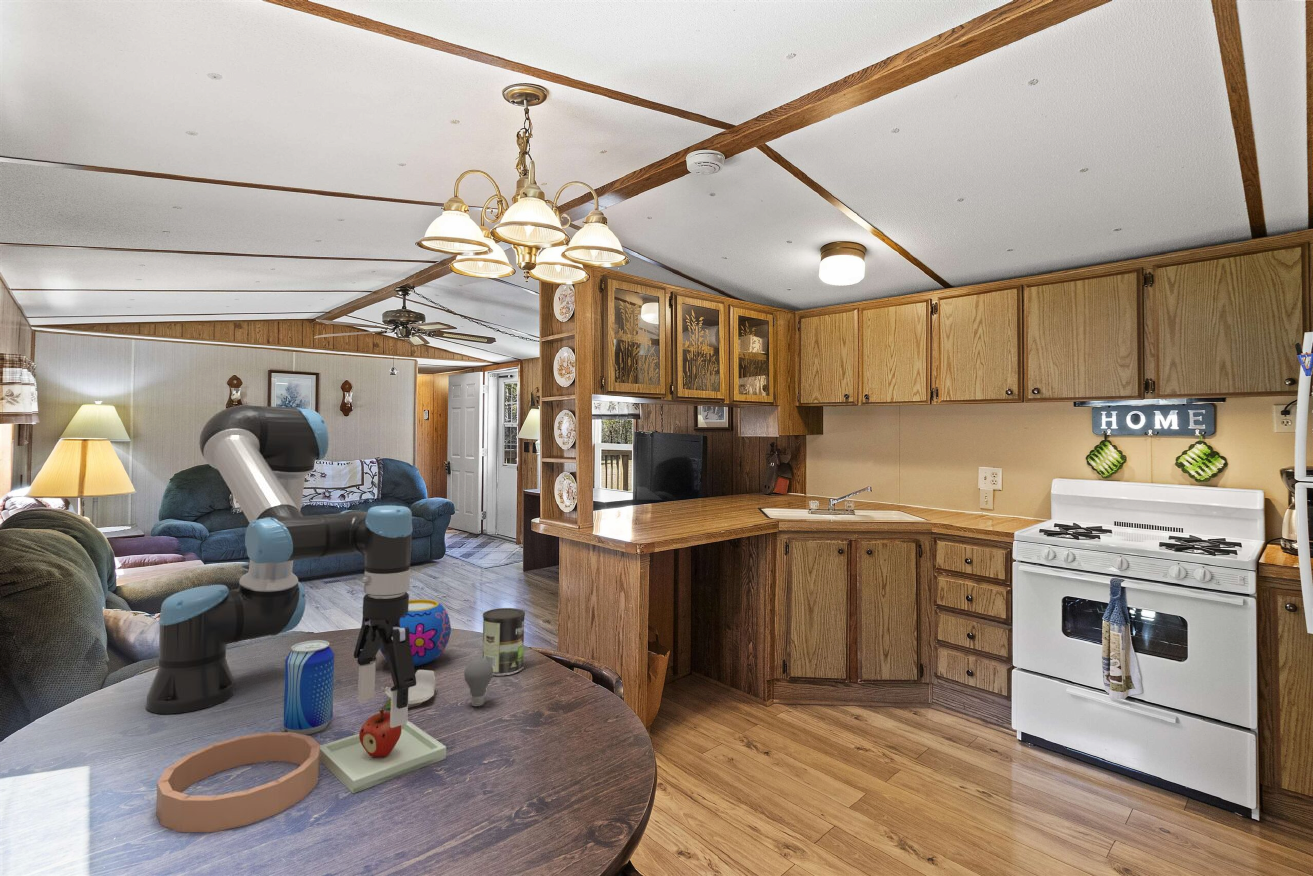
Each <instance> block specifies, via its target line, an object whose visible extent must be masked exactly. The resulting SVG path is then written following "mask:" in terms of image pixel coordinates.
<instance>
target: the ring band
mask: <svg viewBox="0 0 1313 876" xmlns="http://www.w3.org/2000/svg"><path fill="white" fill-rule="evenodd" d="M320 746H321V744H320V743H319V742H317V741H316V740H315V739H314V738H313V737H312V735H311V736H310V735H308V734H307V735H302V734H298V733H294V732H288V731H281V732H279V731H277V732H276V731H275V732H274V731H268V732H262V733H261V732H260V733H255V734H248V735H242V736H237V737H234V738H230V739H226V740H223V741H219V742H216V743H212V744H210V745H207V746H205V747H202V748H200V749H198V750H196V751H193V752H192V753H188V754H187V755H185V756H183V757H182V758H180V759H178V760H177V761H176V762H175V763H172V765H170V766H168V767H167V768H165V770H164V772H163V773H162V775H161V776H160V778H159V779H158V781H157V782H156V804H155V805H156V806H155V807H156V808H155V810H156V812H155V813H156V815H157V818H158V820H159V823H160V825H161V826H162V827H165V828H168V829H170V830H173V831H175V832H176V831H177V832H179V833H214V832H220V831H223V830H224V831H225V830H229V829H234V828H239V827H244V826H248V825H251V824H254V823H257V822H259V821H262V820H264V819H267V818H270V817H272V816H275V815H278V814H280V813H282V812H283V811H285V810H287V809H288V808H290V807H292V806H293V805H296V804H297V803H298V802H300V801H302V800H303V799H305V798H306V796H307V795H309V793H310V792H311V791H312V790H313V789H314V788H315V787H316V786H317V785H318V780H319V775H320V762H321V761H320ZM263 762H264V763H265V762H289V763H292V764H297V765H300V766H298V768H296V769H295V770H292V771H290V772H289V773H287V774H284V775H283V776H281V777H280V778H278V779H276V780H273V781H270V782H267V783H264V784H261V785H259V786H256V787H253V788H249V789H247V790H240V791H236V792H235V791H234V792H229V793H225V794H219V795H188V794H186V793H183V792H184V791H185V790H186V789H187V788H188V787H190V786H191V785H193V784H195V783H197V782H199V781H201V780H204V779H205V778H207V777H209V776H211V775H214V774H216V773H220V772H223V771H226V770H227V771H228V770H229V769H232V768H236V767H239V766H246V765H249V764H250V765H251V764H257V763H263Z"/></svg>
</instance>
